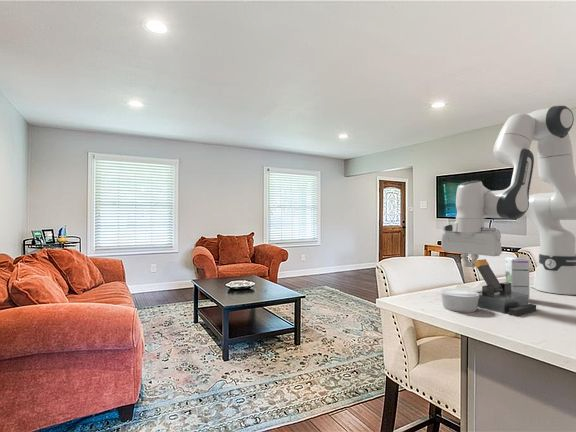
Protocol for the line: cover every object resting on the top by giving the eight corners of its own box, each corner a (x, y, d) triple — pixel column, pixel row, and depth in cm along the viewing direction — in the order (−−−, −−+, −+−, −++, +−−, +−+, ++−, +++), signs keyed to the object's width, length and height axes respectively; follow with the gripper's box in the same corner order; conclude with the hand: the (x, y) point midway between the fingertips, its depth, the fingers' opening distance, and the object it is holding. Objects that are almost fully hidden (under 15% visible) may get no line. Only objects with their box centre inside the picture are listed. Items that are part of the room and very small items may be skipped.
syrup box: (530, 301, 121) (530, 259, 121) (511, 300, 122) (511, 258, 122) (522, 297, 127) (522, 257, 127) (504, 296, 128) (504, 256, 128)
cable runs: (469, 296, 128) (469, 291, 128) (537, 310, 109) (537, 304, 109) (446, 300, 121) (446, 295, 121) (515, 316, 102) (515, 310, 102)
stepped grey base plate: (490, 299, 123) (490, 279, 123) (528, 307, 113) (528, 285, 113) (466, 304, 116) (466, 283, 116) (504, 313, 105) (504, 290, 105)
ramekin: (462, 315, 103) (462, 297, 103) (432, 306, 113) (432, 290, 113) (487, 311, 108) (487, 294, 108) (456, 303, 118) (456, 287, 118)
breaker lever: (499, 292, 116) (481, 261, 121) (504, 290, 114) (485, 259, 120) (492, 294, 113) (473, 262, 119) (496, 291, 112) (477, 260, 117)
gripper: (505, 227, 115) (505, 270, 115) (449, 226, 133) (449, 263, 133) (494, 228, 112) (494, 271, 112) (438, 226, 129) (438, 264, 129)
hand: (469, 266), depth 122 cm, fingers closed
